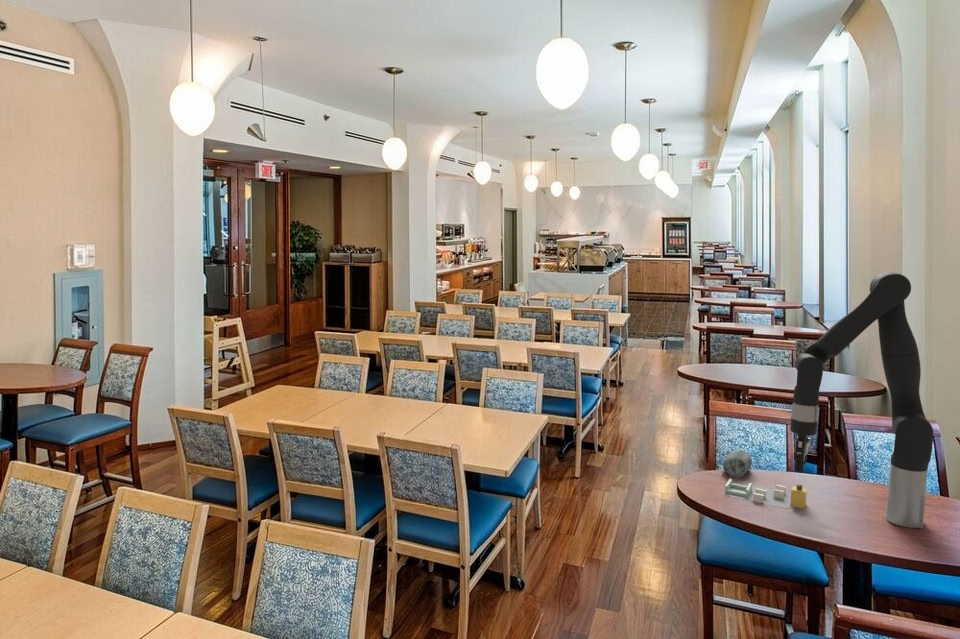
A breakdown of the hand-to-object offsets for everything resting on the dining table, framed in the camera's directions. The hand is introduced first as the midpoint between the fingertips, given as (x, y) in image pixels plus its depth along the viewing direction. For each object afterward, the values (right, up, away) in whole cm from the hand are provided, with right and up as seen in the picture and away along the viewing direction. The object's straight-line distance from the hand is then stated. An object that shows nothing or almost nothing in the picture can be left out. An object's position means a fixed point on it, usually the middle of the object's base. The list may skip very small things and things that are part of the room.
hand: (800, 467), depth 200 cm
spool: (-8, -9, +30) cm, 33 cm away
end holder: (-15, -11, +12) cm, 22 cm away
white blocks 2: (-2, -11, +9) cm, 14 cm away
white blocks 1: (-10, -11, +6) cm, 16 cm away
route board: (-9, -12, +10) cm, 18 cm away
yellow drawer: (0, -13, +2) cm, 13 cm away
